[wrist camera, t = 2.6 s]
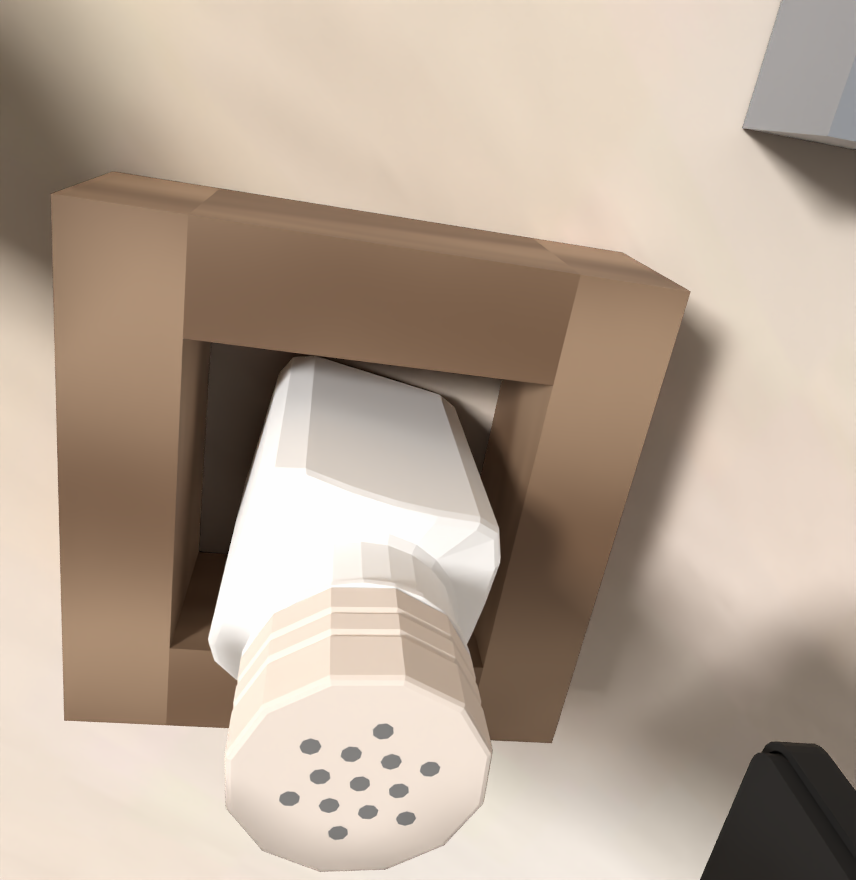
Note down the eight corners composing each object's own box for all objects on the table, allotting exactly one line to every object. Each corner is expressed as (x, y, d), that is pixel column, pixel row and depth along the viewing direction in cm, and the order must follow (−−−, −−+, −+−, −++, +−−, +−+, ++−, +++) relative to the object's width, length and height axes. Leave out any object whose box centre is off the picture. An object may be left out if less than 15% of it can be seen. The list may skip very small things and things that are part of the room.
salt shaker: (401, 537, 19) (455, 916, 10) (240, 495, 18) (150, 873, 9) (461, 393, 17) (582, 690, 9) (288, 338, 16) (234, 610, 8)
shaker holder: (112, 171, 15) (50, 193, 12) (622, 252, 16) (690, 291, 13) (110, 614, 19) (64, 720, 16) (518, 641, 20) (552, 742, 17)
